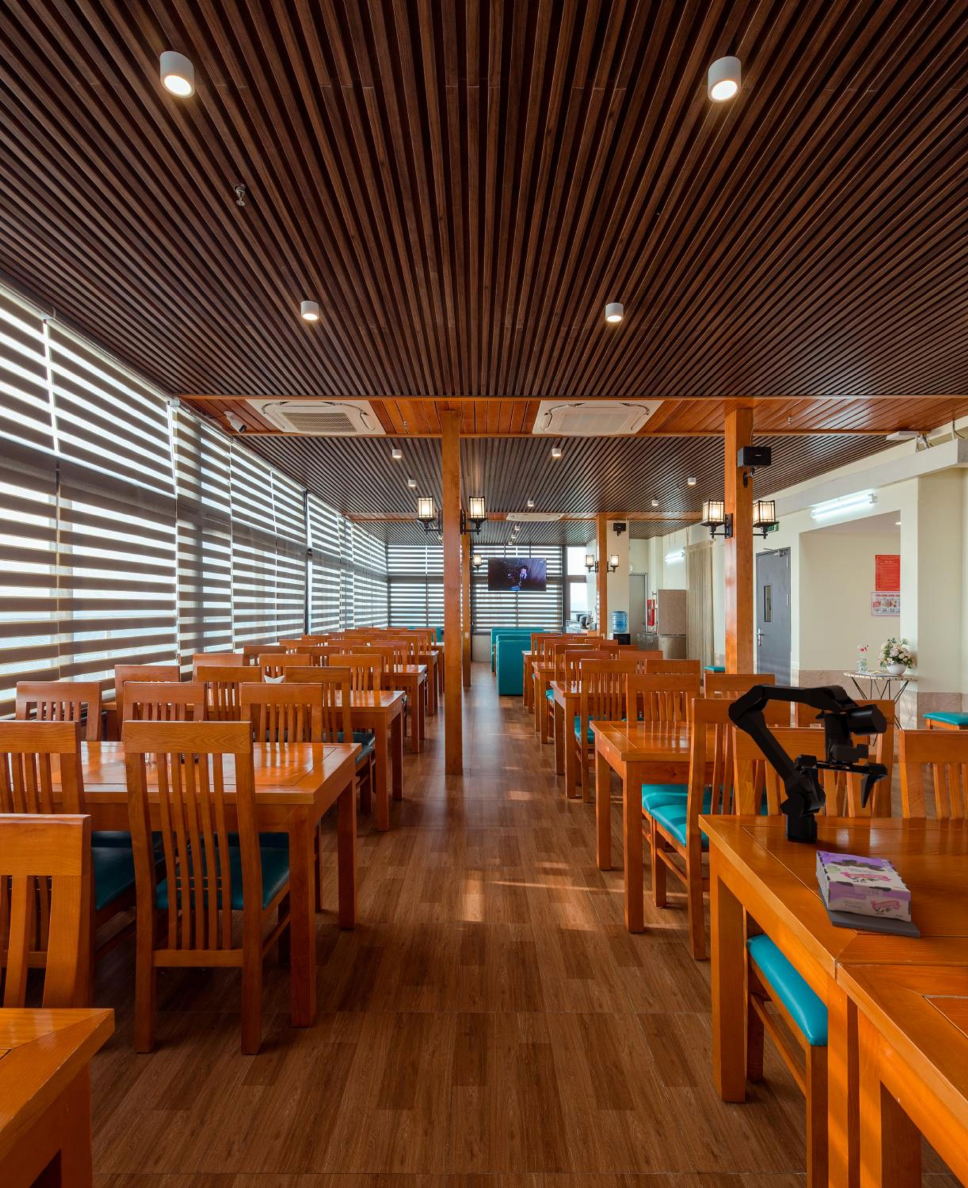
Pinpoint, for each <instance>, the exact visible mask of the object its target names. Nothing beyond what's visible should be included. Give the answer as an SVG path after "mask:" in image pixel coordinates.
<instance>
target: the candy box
mask: <svg viewBox="0 0 968 1188" xmlns="http://www.w3.org/2000/svg"><path fill="white" fill-rule="evenodd" d="M815 859H816V866H815V877H816V878H817V881H818V884H819V888H821V890H822V893H823V896H824V898H825V901H826V904H827V908H828V909H829V910H838V911H844V912H851V913H857V914H863V915H869V916H876V917H882V918H890V919H897V920H903V921H908V922H911V920H912V918H911V914H912V913H911V912H912V911H911V906H912V905H911V902H912V901H911V897H912V896H911V894H912V893H911V892H912V891H911V890H910V888H909V887H908V885H907V884H906V883H905V881H904V880H903V878H902V877H901V875H900V874H899V871H898V870H897V869H896V868H895V866H894V865H893V863H892V862H891V860H889V859H886V858H885V859H884V858H879V857H878V858H877V857H870V856H869V857H868V856H861V855H854V854H846V853H838V852H830V851H821V850H816V858H815Z"/></svg>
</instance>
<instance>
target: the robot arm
mask: <svg viewBox="0 0 968 1188" xmlns="http://www.w3.org/2000/svg"><path fill="white" fill-rule="evenodd" d="M770 700H771V701H780V702H781V701H782V702H790V703H799V704H805V705H806V706H809V707H811V708H814V709H816V710H821V711H820V712H819V713H818V714H817V715H816V716H815V717H814V718H815V720H817V721H820V722H822V723H823V725H824V726H823V727H824V729H823V730H824V754H825V755H824V756H825V760H819V759H818V758H817V755H810V754H803V753H802V754H799V755H798V756H796V758H795V759H794V761H793V760H792V758H791V757H790V756H789V754H788V753H787V752H786V750H785V748H783V746H782V745H781V744H780V742H779V741H778V740H777V738H776V736H774V735H773V733H772V731H770V729H769V728H768V726H767V724H766V718H765V717H766V716H765V714H764V712H763V710H765V708H767V706H768V702H769V701H770ZM727 709H728V710H727V711H728V712H727V716H728V718H729V720H730V721H731V722H732V723H733V724H734V725H735V726H736V727H737V728H738V729H740V730H742V731H743V732H745V733H746V734H747V735H749V736H750V737H751V739H752V741H754V743H755V744H756V745H757V747H758V748H759V749H760V751H761V752H762V754H763V756H764V757H765V758H766V759H767V761H768V762H769V763H770V765H771V766H772V767H773V769H774V770H775V772H776V773H777V774H778V776H779V777H780V778H781V780H782V782H783V787H784V793H785V795H786V797H787V799H785V800H784V801H782V802H781V803H780V804H779V808H780V811H781V814H782V815H783V814H784V815H785V830H784V834H785V837H786V839H787V841H792V842H801V843H810V844H811V843H812V844H817V839H818V821H817V820H816V815H815V814H819V813H820V810H821V808H822V807H823V806H825V805H826V798H827V794H826V792H825V791H824V789H825V787H824V785H822V784H821V783H820V780H819V770H826V771H833V772H842V773H851V774H859V775H861V776H862V777H863V778H861V779H860V803H861V808H862V809H865V808H867V807H866V806H867V803H868V801H869V798H870V794H871V791H872V788H873V787H874V785H875V784H876V783H878V782H880V781H883V780H884V779H886V778H888V777H889V771H888V770H889V769H888V767H887V765H885V763H879V762H868V761H867V762H865V763H864V764H863V765H862V764H861V765H860V764H859V763H860V759H863V760H868V759H869V745H868V744H865V743H857V744H856V746H855V745H854V740H853V738H852V734H854V735H855V736H857V737H862V736H871V735H872V736H873V735H874V736H875V735H881V734H885V733H886V732H887V729H888V721H887V718H886V716H885V714H883V712H882V711H881V710H880V709H879V708H878V705H877V703H869V704H865V705H863V706H860V705H859V704H858V703H857V702H856V701H855V700H854V699H852V697H850V696H849V695H848V693H847V691H846V690H845V688H844V687H843V686H842V685H839V684H838V685H837V684H832V685H825V686H824V685H823V686H814V687H813V686H812V687H806V686H793V685H792V686H791V685H778V684H770V683H757V684H755V685H753V686H752V687H751V688H750V689H749V690H748V691H747V692H746V693H744V694H743V695H741V696H740V697H738V698H737V700H736V701H733V702H732V703H730V705H729V706H728V708H727ZM828 711H830V712H828ZM856 763H858V764H856Z"/></svg>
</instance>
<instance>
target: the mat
mask: <svg viewBox="0 0 968 1188" xmlns="http://www.w3.org/2000/svg"><path fill="white" fill-rule="evenodd" d="M817 889H818V891H817V892H818V894H819V897H820V899H821V901H822V903H823V906H824V909H825V912H826V914H827V913H828V914H827V916H828V918H830V919H829V921H830V923H831V925H832V926H835V927H844V928H850V929H855V928H860V929H859V930H863V929H864V930H863V931H869V932H870V931H871V932H878V933H884V934H885V933H886V934H891V933H893V935H898V934H899V936H906V937H913V938H921V932H920V931H919V929H918V927H917V926H916V925H915V923H914V922H913V920H912V919H911V922H908V921H903V920H897V919H890V918H882V917H876V916H869V915H863V914H857V913H851V912H844V911H838V910H829V909H828V908H827V904H826V901H825V898H824V896H823V893H822V890H821V887H818V888H817Z"/></svg>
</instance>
